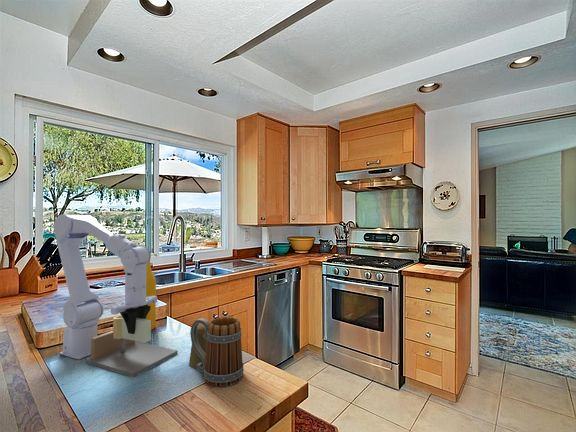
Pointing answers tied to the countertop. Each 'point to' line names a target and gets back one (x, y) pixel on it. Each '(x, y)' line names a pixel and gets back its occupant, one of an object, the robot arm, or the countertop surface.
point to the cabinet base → (126, 354)
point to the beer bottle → (151, 294)
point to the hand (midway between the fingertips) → (135, 331)
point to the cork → (202, 342)
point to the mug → (220, 351)
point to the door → (141, 329)
